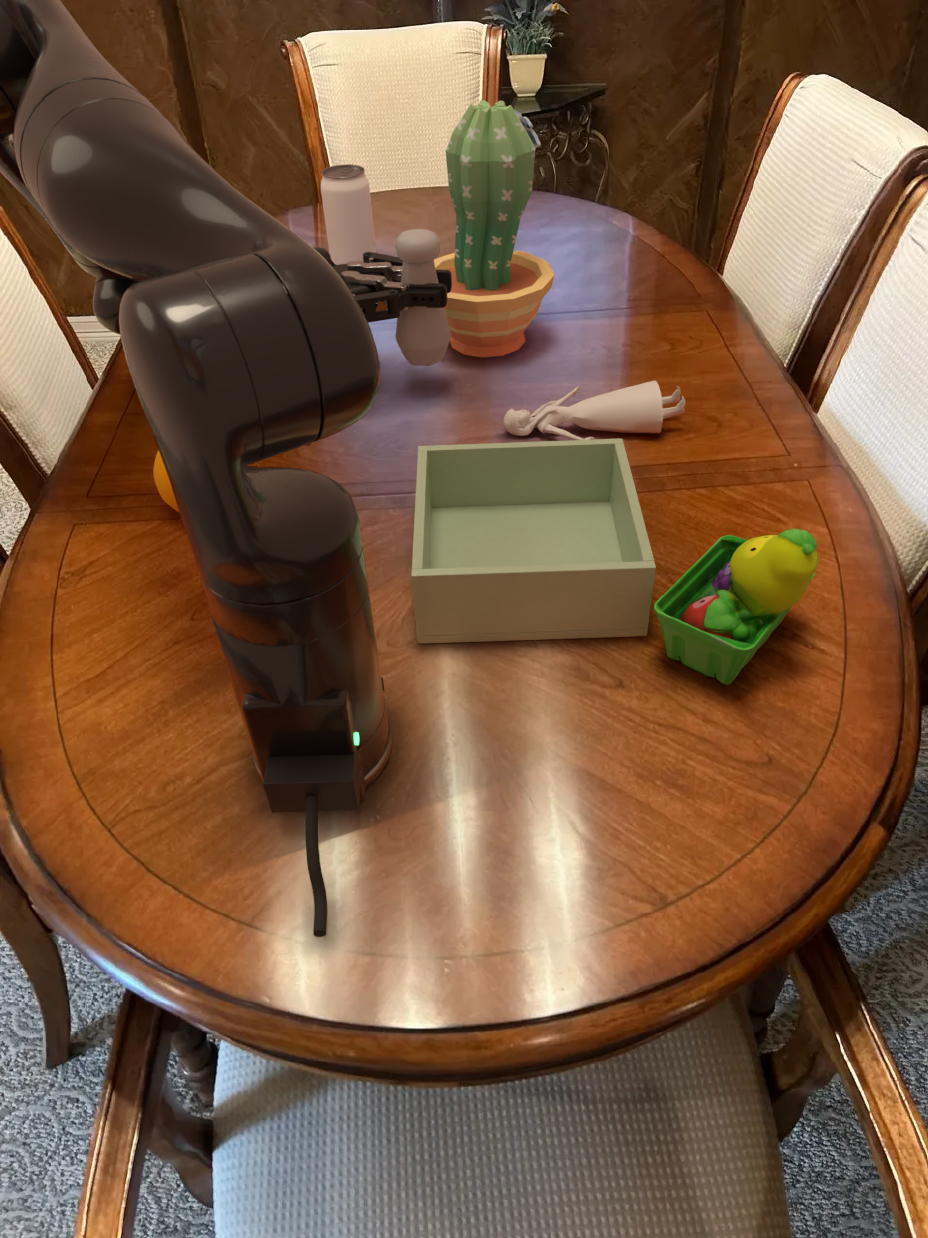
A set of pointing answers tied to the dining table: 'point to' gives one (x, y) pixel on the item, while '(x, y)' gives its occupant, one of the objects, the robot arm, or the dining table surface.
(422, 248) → the salt shaker
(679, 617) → the fruit basket
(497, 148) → the potted cactus
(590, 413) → the woman figurine
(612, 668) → the dining table surface
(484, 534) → the bin
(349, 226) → the can
